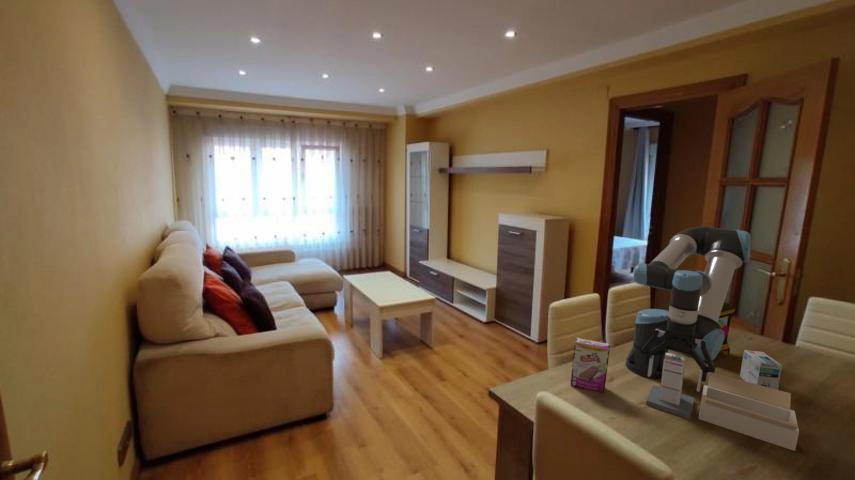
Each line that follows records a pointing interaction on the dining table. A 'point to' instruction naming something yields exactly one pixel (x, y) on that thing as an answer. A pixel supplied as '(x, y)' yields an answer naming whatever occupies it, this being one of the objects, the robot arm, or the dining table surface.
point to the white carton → (750, 410)
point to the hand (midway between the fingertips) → (673, 382)
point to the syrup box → (672, 378)
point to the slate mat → (680, 410)
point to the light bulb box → (760, 369)
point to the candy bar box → (590, 364)
